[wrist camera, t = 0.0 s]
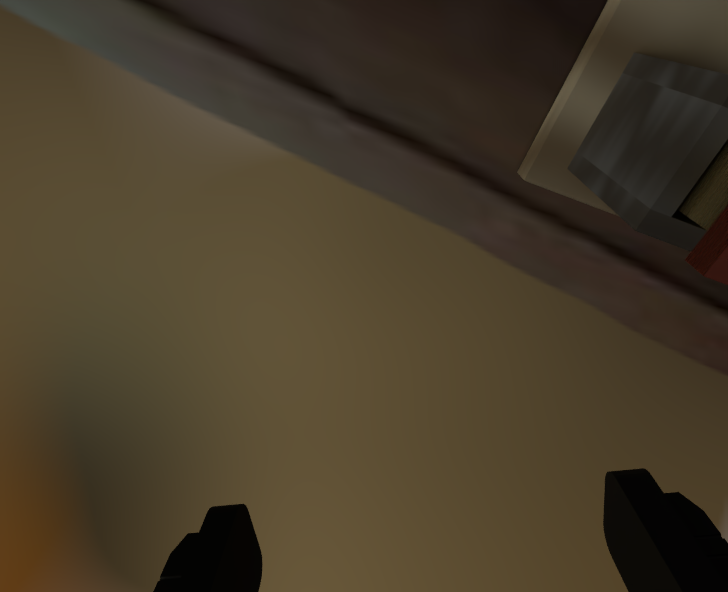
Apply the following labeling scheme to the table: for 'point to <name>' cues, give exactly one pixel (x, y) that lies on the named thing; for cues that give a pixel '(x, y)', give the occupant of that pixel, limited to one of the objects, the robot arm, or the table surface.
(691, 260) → the block
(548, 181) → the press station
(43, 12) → the table surface
